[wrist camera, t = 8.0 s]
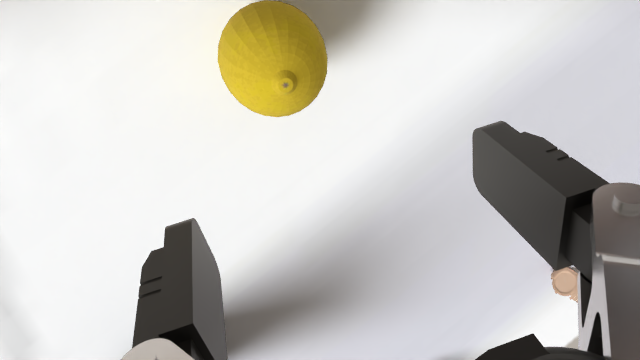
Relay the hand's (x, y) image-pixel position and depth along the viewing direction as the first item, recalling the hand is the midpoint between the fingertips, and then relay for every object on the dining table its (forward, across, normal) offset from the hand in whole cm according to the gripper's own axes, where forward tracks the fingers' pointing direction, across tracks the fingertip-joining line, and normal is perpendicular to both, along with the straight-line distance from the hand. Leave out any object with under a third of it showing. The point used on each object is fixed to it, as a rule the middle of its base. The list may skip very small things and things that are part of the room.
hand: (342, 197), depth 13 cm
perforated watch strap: (+17, -23, +31) cm, 42 cm away
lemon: (+17, 0, 0) cm, 17 cm away
